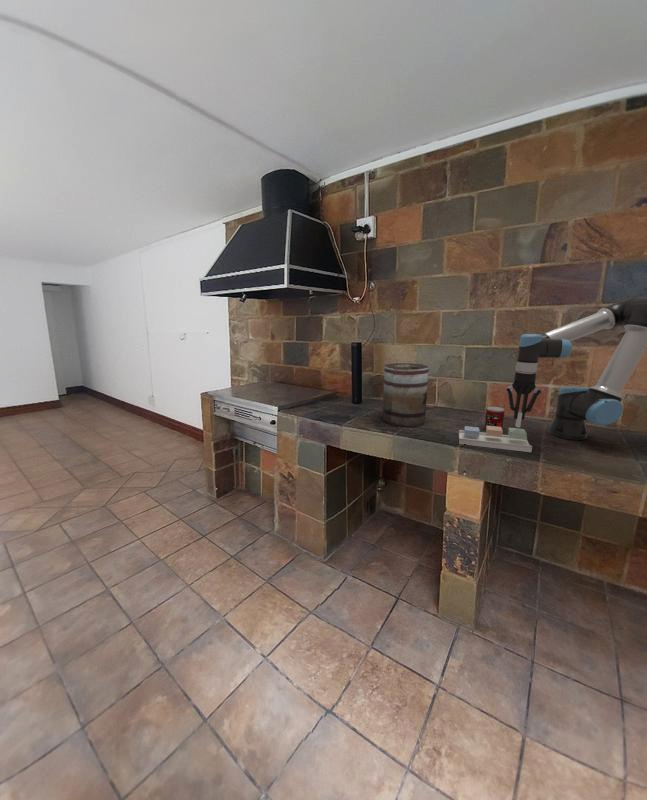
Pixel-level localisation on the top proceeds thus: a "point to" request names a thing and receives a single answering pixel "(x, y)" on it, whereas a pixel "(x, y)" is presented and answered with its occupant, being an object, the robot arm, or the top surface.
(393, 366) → the barrel
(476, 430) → the key
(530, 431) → the top surface
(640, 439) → the top surface
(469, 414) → the top surface
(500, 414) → the canned food
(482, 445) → the keypad base
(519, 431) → the key
